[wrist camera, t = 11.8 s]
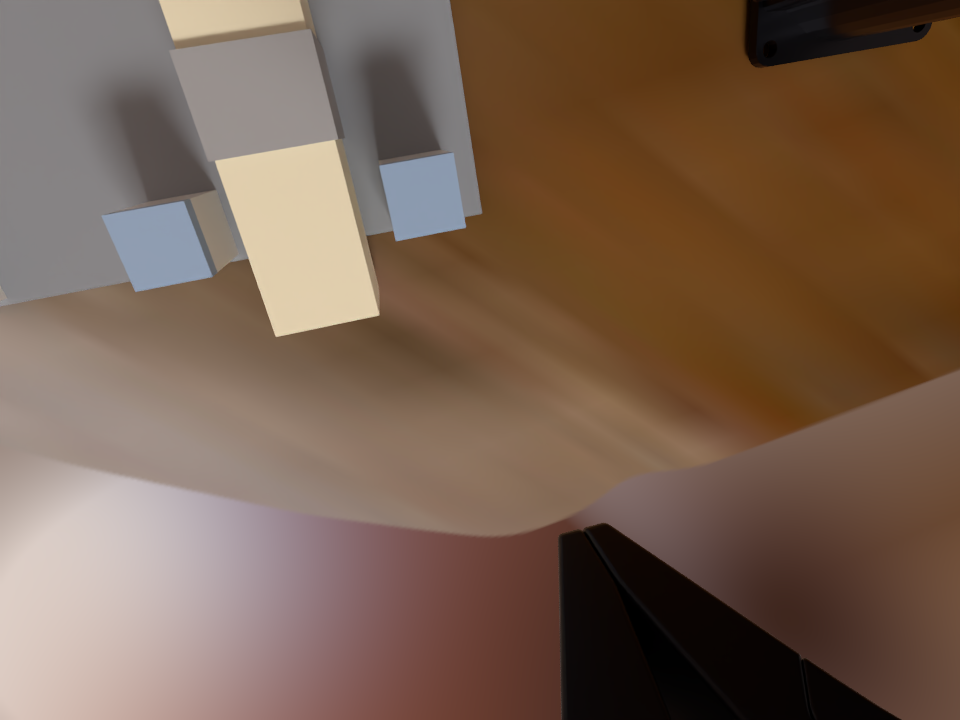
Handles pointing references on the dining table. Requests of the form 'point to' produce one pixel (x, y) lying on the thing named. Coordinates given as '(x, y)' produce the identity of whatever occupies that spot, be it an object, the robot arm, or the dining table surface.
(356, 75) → the grey panel with feet
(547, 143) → the dining table surface
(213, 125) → the beige block grey band
